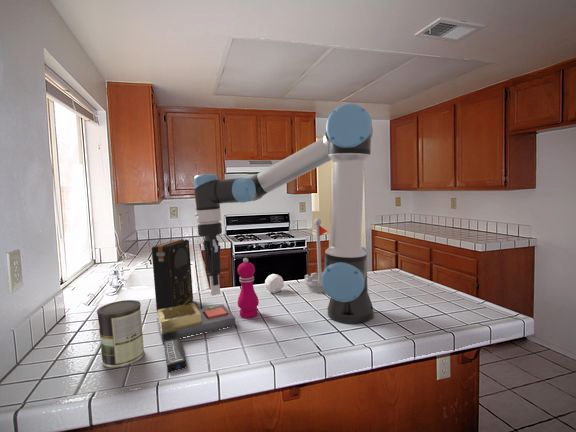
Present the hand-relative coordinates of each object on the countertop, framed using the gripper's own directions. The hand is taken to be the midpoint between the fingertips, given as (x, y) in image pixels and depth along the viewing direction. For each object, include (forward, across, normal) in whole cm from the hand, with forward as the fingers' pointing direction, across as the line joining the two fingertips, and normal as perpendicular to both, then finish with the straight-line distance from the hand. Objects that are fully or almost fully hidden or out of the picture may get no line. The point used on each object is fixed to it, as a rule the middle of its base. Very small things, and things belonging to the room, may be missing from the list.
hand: (215, 294), depth 109 cm
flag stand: (+11, -12, +47) cm, 49 cm away
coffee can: (+10, +10, -28) cm, 31 cm away
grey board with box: (+9, 0, -7) cm, 12 cm away
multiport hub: (+10, +16, -16) cm, 25 cm away
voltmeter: (+9, -24, -10) cm, 27 cm away
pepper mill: (+10, 0, +11) cm, 15 cm away
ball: (+10, -18, +29) cm, 36 cm away
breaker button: (+9, -1, -1) cm, 9 cm away
